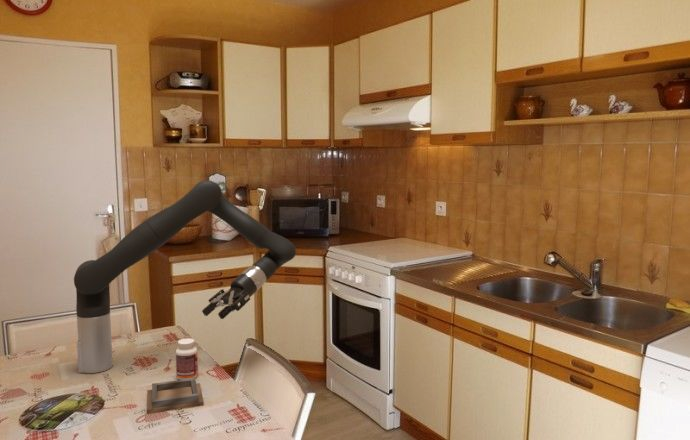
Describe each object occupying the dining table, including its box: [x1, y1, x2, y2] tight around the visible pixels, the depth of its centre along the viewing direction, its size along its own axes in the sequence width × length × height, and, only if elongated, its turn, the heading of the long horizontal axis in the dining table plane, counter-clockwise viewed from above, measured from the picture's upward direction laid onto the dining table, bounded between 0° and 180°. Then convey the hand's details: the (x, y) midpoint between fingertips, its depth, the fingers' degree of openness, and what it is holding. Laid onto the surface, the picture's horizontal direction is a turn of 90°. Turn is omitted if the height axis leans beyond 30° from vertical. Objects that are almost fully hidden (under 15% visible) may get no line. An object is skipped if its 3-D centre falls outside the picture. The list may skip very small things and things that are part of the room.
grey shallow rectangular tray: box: [146, 378, 205, 415], centre depth 140 cm, size 14×12×3 cm
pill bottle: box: [175, 338, 199, 380], centre depth 154 cm, size 6×6×11 cm
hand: (211, 315), depth 156 cm, fingers open, 8 cm apart
